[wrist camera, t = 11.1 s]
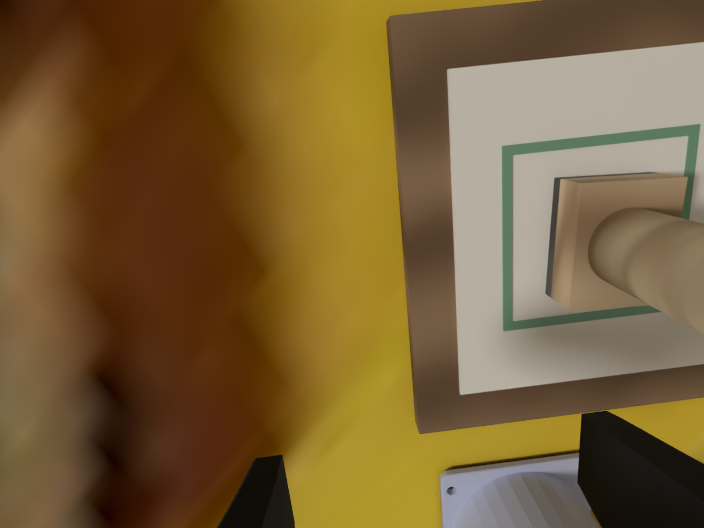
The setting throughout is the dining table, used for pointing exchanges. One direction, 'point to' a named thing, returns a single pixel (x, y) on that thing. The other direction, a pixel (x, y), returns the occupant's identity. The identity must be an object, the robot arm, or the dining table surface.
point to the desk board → (436, 191)
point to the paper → (536, 206)
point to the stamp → (626, 246)
